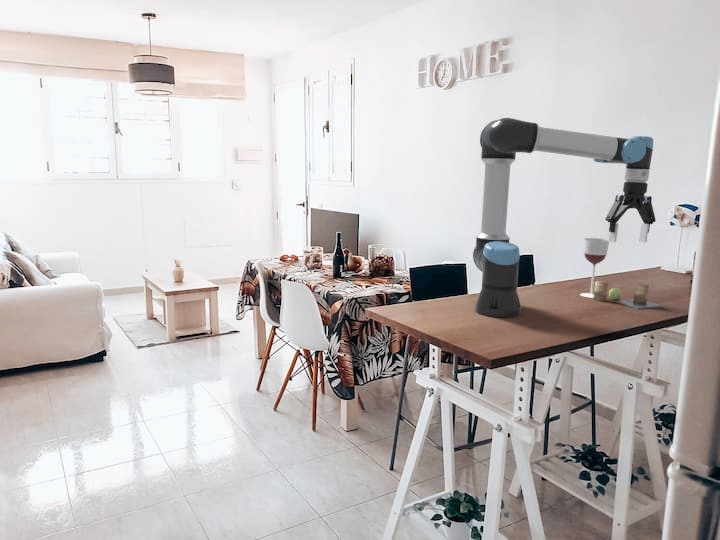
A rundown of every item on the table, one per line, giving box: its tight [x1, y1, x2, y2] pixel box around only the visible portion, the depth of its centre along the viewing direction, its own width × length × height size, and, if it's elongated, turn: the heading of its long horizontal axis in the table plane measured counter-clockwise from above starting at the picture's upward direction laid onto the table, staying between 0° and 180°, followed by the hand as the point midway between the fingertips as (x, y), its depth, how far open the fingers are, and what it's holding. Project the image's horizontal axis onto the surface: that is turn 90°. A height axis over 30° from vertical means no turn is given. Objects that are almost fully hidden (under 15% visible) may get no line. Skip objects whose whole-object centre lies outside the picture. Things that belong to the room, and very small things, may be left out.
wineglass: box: [579, 237, 610, 299], centre depth 218 cm, size 9×10×22 cm
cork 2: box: [633, 282, 650, 305], centre depth 205 cm, size 4×4×7 cm
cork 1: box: [593, 280, 609, 302], centre depth 212 cm, size 4×4×7 cm
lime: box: [608, 287, 623, 301], centre depth 213 cm, size 5×5×5 cm
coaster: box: [614, 298, 663, 310], centre depth 206 cm, size 11×11×1 cm
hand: (627, 241), depth 201 cm, fingers open, 13 cm apart
